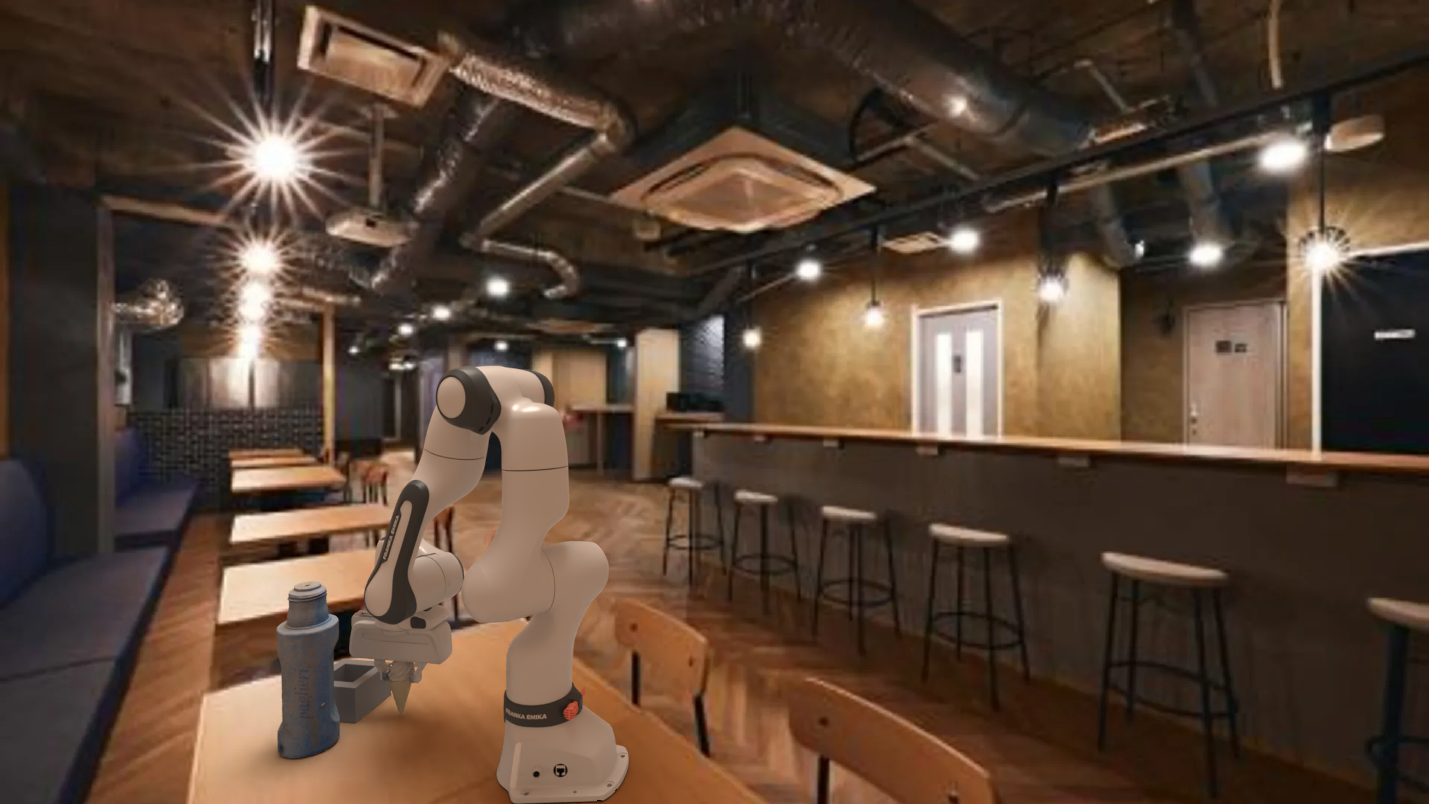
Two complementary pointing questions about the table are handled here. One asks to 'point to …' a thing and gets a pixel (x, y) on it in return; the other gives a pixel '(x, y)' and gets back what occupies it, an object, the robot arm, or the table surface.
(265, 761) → the table surface
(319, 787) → the table surface
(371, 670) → the box
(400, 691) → the ice cream cone
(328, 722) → the bottle
